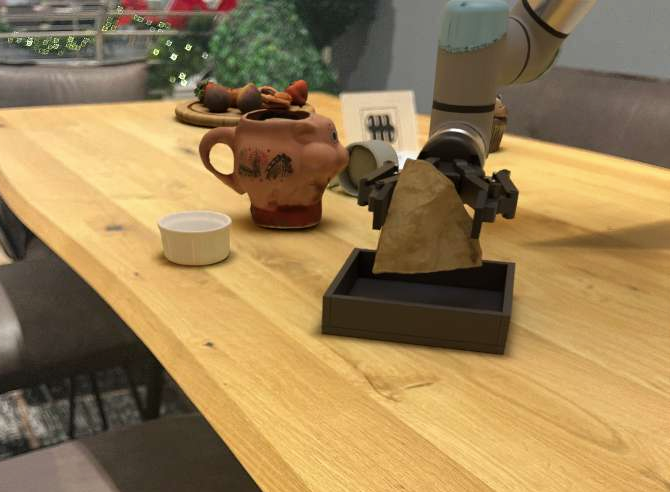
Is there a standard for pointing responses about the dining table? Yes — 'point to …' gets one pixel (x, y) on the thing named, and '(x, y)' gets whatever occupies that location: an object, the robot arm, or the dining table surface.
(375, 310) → the tray
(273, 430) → the dining table surface
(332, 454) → the dining table surface
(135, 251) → the dining table surface
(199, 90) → the wooden plate
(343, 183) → the ceramic mug
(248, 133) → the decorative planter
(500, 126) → the cupcake
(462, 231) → the rock
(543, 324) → the dining table surface
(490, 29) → the robot arm
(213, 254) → the ramekin
